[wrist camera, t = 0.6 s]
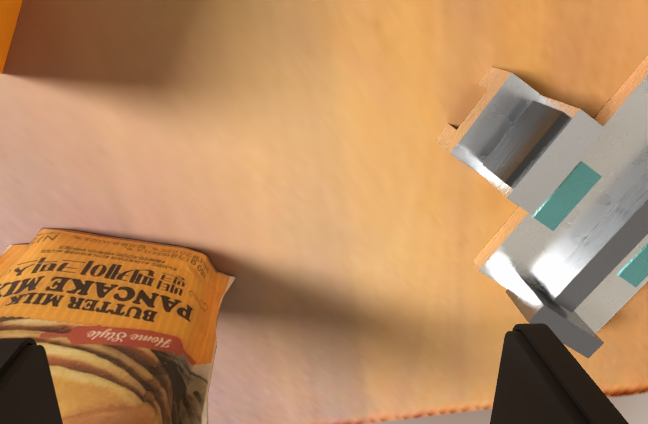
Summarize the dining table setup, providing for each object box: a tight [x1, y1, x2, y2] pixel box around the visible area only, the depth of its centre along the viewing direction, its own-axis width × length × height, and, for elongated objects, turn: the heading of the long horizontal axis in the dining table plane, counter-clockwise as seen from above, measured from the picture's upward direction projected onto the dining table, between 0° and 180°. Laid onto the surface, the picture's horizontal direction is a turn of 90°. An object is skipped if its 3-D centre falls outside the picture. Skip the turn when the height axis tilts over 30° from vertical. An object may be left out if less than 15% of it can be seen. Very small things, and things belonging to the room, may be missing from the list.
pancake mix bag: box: [0, 228, 236, 424], centre depth 25 cm, size 7×19×28 cm, turn 78°
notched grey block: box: [436, 67, 606, 215], centre depth 31 cm, size 5×6×8 cm
